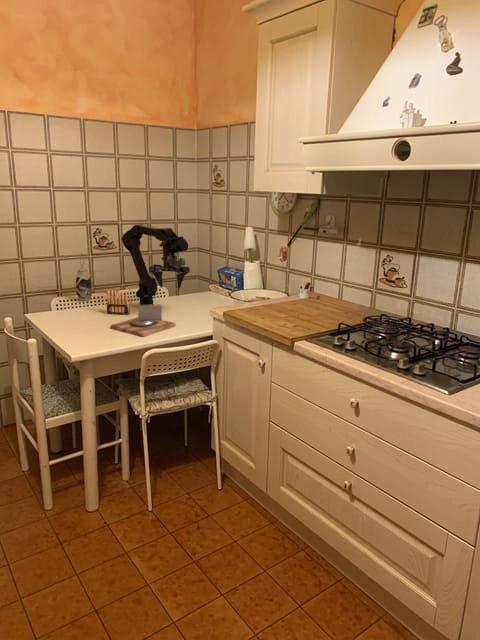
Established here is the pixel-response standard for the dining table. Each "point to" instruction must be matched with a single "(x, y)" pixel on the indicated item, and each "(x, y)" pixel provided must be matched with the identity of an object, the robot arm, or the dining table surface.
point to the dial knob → (148, 315)
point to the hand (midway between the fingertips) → (170, 287)
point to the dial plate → (142, 327)
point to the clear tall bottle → (83, 284)
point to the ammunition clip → (117, 303)
